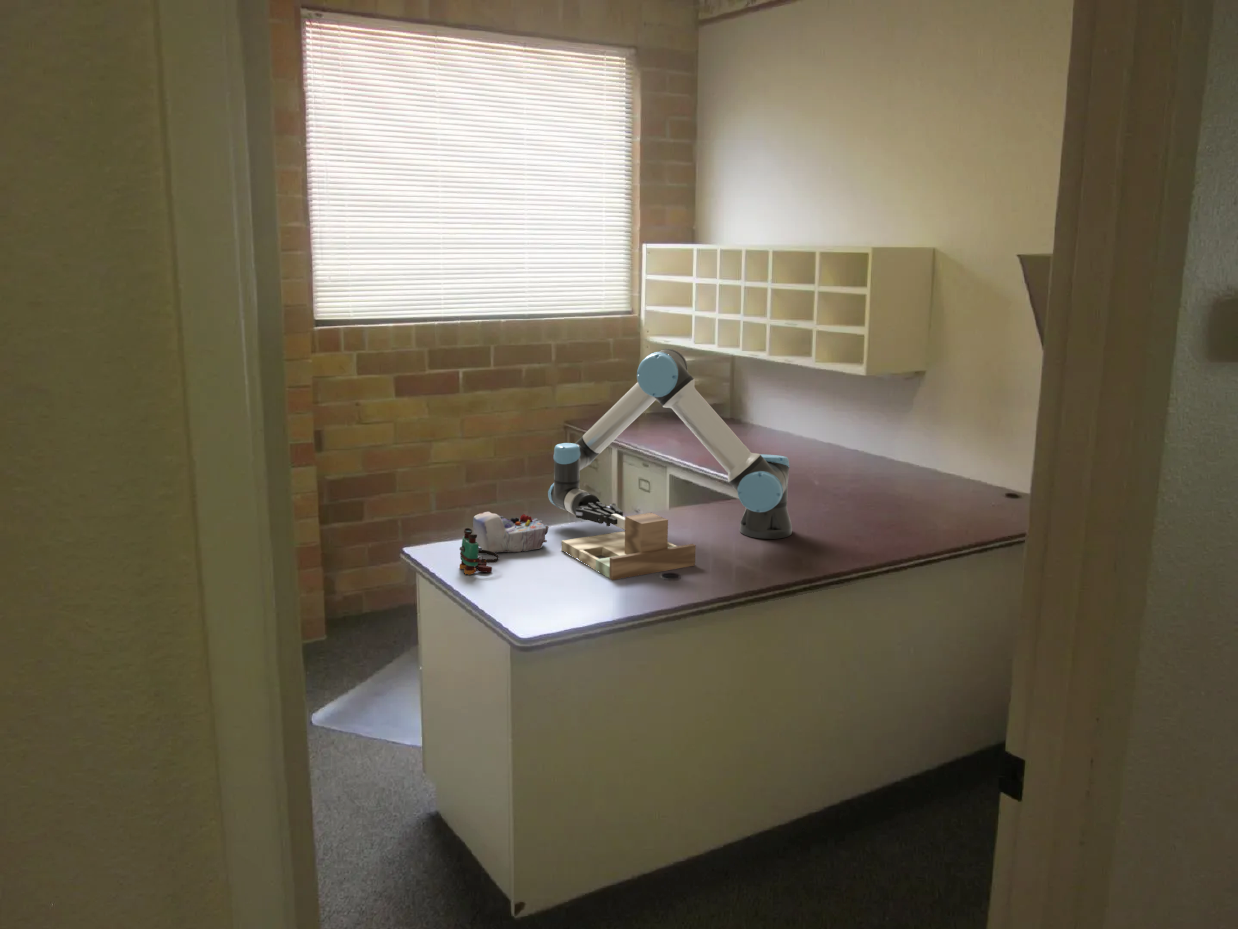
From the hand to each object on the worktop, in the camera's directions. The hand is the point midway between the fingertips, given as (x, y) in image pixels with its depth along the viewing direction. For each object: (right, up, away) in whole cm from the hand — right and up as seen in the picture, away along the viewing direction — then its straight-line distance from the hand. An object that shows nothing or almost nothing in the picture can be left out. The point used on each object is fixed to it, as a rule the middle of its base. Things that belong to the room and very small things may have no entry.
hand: (626, 524), depth 266 cm
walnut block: (+5, -8, -6) cm, 11 cm away
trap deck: (0, -9, +2) cm, 9 cm away
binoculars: (-38, -11, -10) cm, 40 cm away
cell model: (-31, -7, +9) cm, 34 cm away
